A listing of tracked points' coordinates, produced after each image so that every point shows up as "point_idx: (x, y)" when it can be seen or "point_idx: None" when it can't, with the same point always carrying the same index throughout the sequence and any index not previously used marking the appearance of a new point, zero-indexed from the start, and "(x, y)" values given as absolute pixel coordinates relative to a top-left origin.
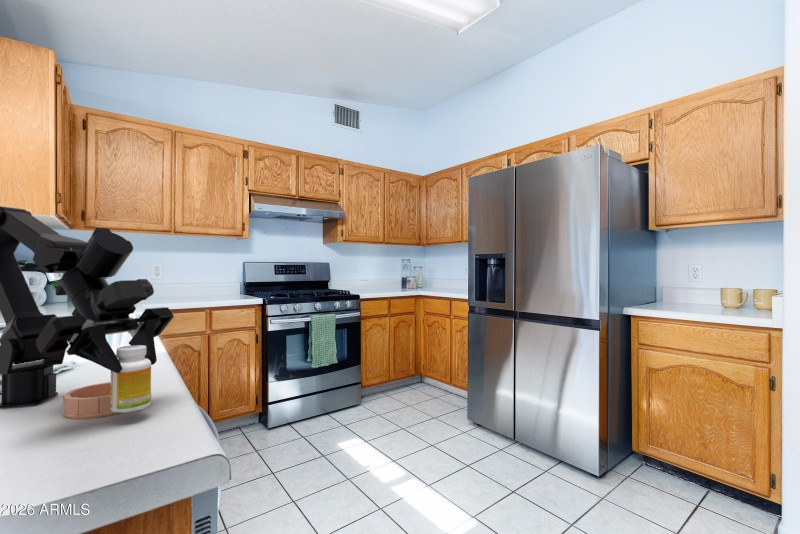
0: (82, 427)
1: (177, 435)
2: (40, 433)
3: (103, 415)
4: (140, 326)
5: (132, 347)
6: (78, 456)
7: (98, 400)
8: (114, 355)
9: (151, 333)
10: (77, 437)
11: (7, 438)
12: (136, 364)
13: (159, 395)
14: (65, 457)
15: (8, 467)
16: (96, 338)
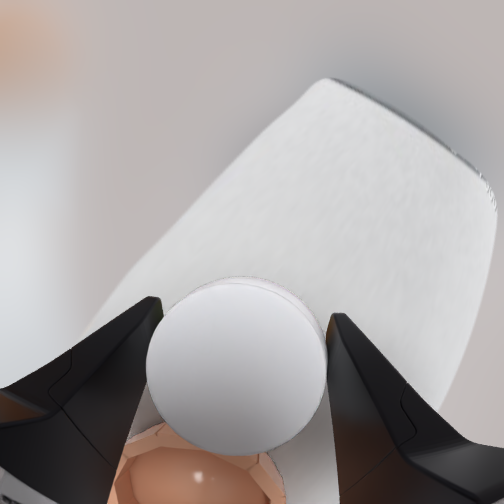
0: (319, 415)
1: (295, 161)
2: None
3: None
4: (14, 495)
5: (235, 365)
6: (420, 261)
7: (259, 459)
8: (363, 357)
9: (23, 391)
10: None
11: None
12: (276, 288)
13: None
14: (429, 280)
15: (469, 332)
16: (469, 448)
